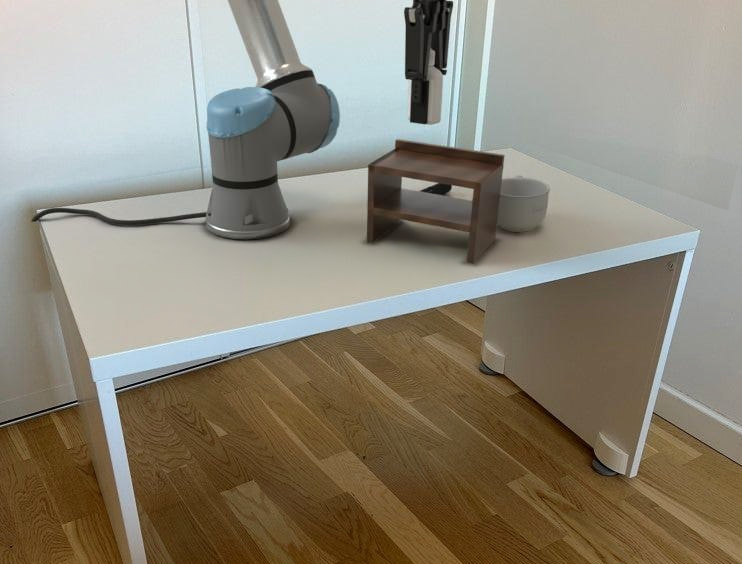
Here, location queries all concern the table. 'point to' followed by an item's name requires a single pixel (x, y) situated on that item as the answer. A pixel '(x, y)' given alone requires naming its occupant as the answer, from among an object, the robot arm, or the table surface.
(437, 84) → the eye dropper bottle
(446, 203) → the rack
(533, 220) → the teacup
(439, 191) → the electric trimmer
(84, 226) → the table surface
